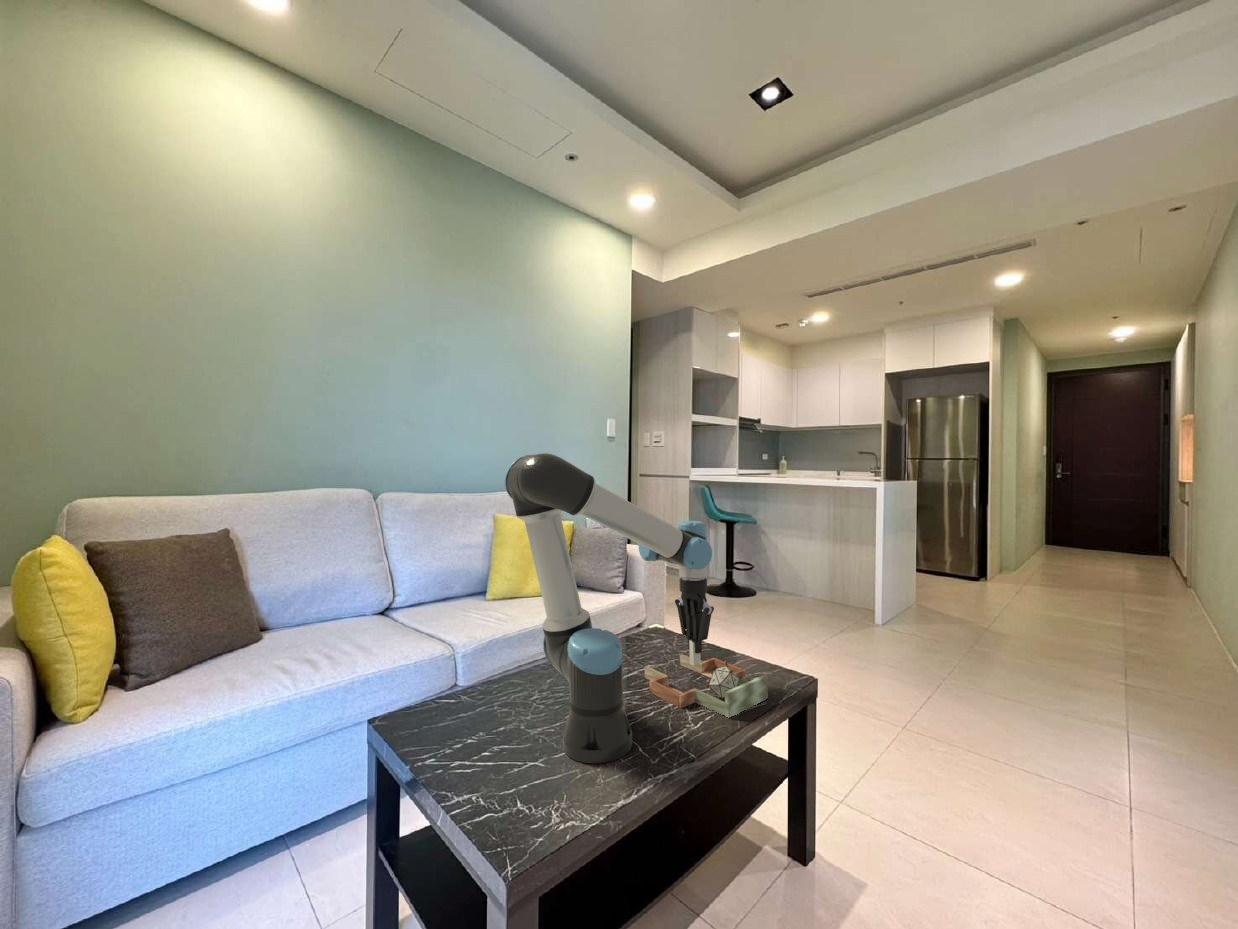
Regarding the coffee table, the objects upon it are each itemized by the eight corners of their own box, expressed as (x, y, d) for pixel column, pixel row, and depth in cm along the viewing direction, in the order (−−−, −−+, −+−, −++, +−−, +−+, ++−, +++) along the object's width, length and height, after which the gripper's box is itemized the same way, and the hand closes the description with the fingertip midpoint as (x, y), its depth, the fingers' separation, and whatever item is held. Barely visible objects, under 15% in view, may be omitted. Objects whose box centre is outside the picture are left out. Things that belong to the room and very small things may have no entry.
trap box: (714, 725, 115) (713, 699, 115) (631, 682, 140) (630, 660, 140) (779, 694, 130) (779, 671, 130) (694, 660, 154) (693, 640, 155)
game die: (732, 713, 128) (749, 690, 123) (701, 703, 127) (716, 680, 122) (730, 683, 136) (746, 660, 130) (701, 673, 135) (715, 650, 130)
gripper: (720, 579, 134) (722, 667, 133) (686, 572, 144) (688, 653, 144) (700, 583, 129) (703, 674, 129) (667, 575, 140) (669, 660, 139)
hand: (695, 663), depth 136 cm, fingers closed
